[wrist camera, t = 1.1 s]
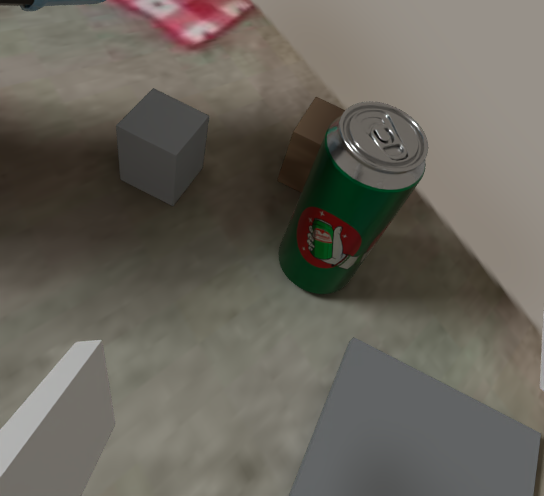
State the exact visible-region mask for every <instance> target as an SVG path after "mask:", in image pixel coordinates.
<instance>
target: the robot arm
mask: <svg viewBox="0 0 544 496" xmlns="http://www.w3.org/2000/svg"><path fill="white" fill-rule="evenodd" d="M104 1H106V0H0V5H14V6H20V7H21V9H22V10H25V11H36V10H38V9H40V8H42V7H44V6H54V5H83V4H97V3H100V2H104ZM540 388H541V389H542V390H543V391H544V314H543V333H542V353H541V373H540ZM114 426H115V417H114V411H113V405H112V399H111V392H110V386H109V380H108V373H107V367H106V361H105V354H104V348H103V342H102V340H93V341H81V342H75V344H74V345H73V346H72V347H71V348H70V349H69V351H68V352H67V353H66V354H65V355H64V356H63V358H62V359H61V360H60V361H59V362H58V363H57V365H56V366H55V367H54V368H53V369H52V370H51V371H50V373H49V374H48V375H47V376H46V377H45V378H44V380H43V381H42V382H41V383H40V384H39V385H38V387H37V388H36V389H35V390H34V391H33V392H32V394H31V395H30V396H29V397H28V398H27V399H26V401H25V402H24V403H23V404H22V405H21V406H20V408H19V409H18V410H17V411H16V412H15V413H14V414H13V416H12V417H11V418H10V419H9V420H8V421H7V423H6V424H5V425H4V426H3V427H2V428H1V430H0V496H81V495H82V493H83V491H84V489H85V487H86V485H87V482H88V480H89V478H90V476H91V474H92V472H93V470H94V468H95V466H96V464H97V462H98V459H99V457H100V455H101V453H102V451H103V449H104V447H105V445H106V443H107V441H108V439H109V437H110V434H111V432H112V430H113V428H114Z"/></svg>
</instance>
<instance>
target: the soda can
mask: <svg viewBox="0 0 544 496" xmlns="http://www.w3.org/2000/svg"><path fill="white" fill-rule="evenodd" d="M427 152H428V142H427V138H426V136H425V133H424V131H423V130H422V128H421V127H420V126H419V124H418V123H417V122H416V121H415V120H414V119H413V118H412V117H410V116H409V115H408V114H406V113H405V112H403V111H402V110H400V109H397V108H396V107H393V106H391V105H388V104H384V103H380V102H361V103H357V104H355V105H352V106H350V107H349V108H348V109H346V111H345V112H344V113H343V114H342V116H340V117H339V118H337V119H336V120H334V121H333V122H332V123H331V124H330V125H329V127H328V129H327V131H326V133H325V136H324V138H323V141H322V143H321V145H320V148H319V150H318V153H317V155H316V158H315V160H314V163H313V165H312V168H311V170H310V173H309V175H308V178H307V180H306V183H305V185H304V187H303V190H302V192H301V195H300V197H299V200H298V202H297V205H296V207H295V210H294V212H293V215H292V217H291V220H290V222H289V225H288V227H287V229H286V232H285V234H284V237H283V239H282V242H281V245H280V247H279V261H280V265H281V268H282V270H283V272H284V273H285V275H286V276H287V277H288V278H289V280H290V281H292V282H293V283H294V284H295V285H297V286H298V287H300V288H301V289H303V290H306V291H308V292H312V293H316V294H329V293H333V292H336V291H338V290H340V289H342V288H343V287H345V286H346V285H347V284H348V282H349V281H350V280H351V278H352V277H353V275H354V274H355V272H356V271H357V270H358V268H359V267H360V265H361V264H362V262H363V261H364V260H365V258H366V257H367V255H368V254H369V252H370V251H371V250H372V248H373V247H374V245H375V244H376V242H377V241H378V240H379V238H380V237H381V235H382V234H383V233H384V231H385V230H386V228H387V227H388V225H389V224H390V223H391V221H392V220H393V218H394V217H395V215H396V214H397V213H398V211H399V210H400V208H401V207H402V205H403V204H404V203H405V201H406V200H407V198H408V197H409V195H410V194H411V193H412V191H413V190H414V188H415V187H416V186H417V184H418V183H419V181H420V180H421V178H422V177H423V174H424V171H425V165H426V164H425V158H426V156H427Z"/></svg>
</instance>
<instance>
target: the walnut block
mask: <svg viewBox="0 0 544 496" xmlns="http://www.w3.org/2000/svg"><path fill="white" fill-rule="evenodd" d="M344 112H345V110H343V109H341V108H339V107H337V106H335V105H333V104H331V103H329V102H326V101H324V100H322V99H320V98H318V97H315V99H314V100H313V102H312V103H311V105H310V107H309V108H308V110H307V111H306V113H305V114H304V116H303V117H302V119H301V120H300V122H299V123H298V125H297V126H296V128H295V130H294V131H293V134H292V137H291V140H290V143H289V146H288V149H287V152H286V155H285V158H284V161H283V164H282V168H281V171H280V174H279V177H278V180H277V181H279V182H281V183H283V184H285V185H287V186H289V187H291V188H293V189H295V190H297V191H299V192H302V190H303V187H304V185H305V183H306V180H307V178H308V175H309V173H310V170H311V168H312V165H313V163H314V160H315V158H316V155H317V153H318V150H319V148H320V145H321V143H322V141H323V138H324V136H325V133H326V131H327V129H328V127H329V125H330V124H331V123H332V122H333V121H334V120H336V119H337V118H339V117H340V116H342V114H343V113H344Z"/></svg>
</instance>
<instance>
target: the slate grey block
mask: <svg viewBox="0 0 544 496" xmlns="http://www.w3.org/2000/svg"><path fill="white" fill-rule="evenodd" d="M208 122H209V115H207V114H205V113H203V112H201V111H199V110H197V109H195V108H193V107H191V106H188V105H186V104H184V103H182V102H180V101H178V100H176V99H174V98H172V97H170V96H168V95H166V94H164V93H162V92H160V91H158V90H156V89H154V88H153V89H152V90H151V91H150V92H149V93H148V94H147V95H146V96H145V97H144V98H143V99H142V100H141V101H140V102H139V103H138V104H137V105H136V106H135V107H134V108H133V109H132V110H131V111H130V112H129V113H128V114H127V115H126V116H125V117H124V118H123V119H122V120H121V121H120V122H119V123H118V124H117V125H116V131H117V143H118V156H119V168H120V180H122V181H124V182H126V183H128V184H130V185H132V186H134V187H136V188H138V189H140V190H142V191H144V192H146V193H148V194H150V195H152V196H154V197H156V198H158V199H160V200H162V201H164V202H166V203H167V204H169V205H171V206H174V204H175V203H176V202H177V200H178V199H179V198H180V197H181V195H182V194H183V193H184V191H185V190H186V189H187V187H188V186H189V185H190V184H191V182H192V181H193V180H194V178H195V177H196V176H197V174H198V173H199V172H200V170H201V169H202V168H203V160H204V153H205V145H206V137H207V130H208Z"/></svg>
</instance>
